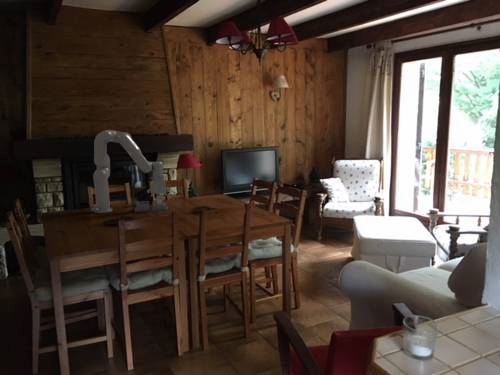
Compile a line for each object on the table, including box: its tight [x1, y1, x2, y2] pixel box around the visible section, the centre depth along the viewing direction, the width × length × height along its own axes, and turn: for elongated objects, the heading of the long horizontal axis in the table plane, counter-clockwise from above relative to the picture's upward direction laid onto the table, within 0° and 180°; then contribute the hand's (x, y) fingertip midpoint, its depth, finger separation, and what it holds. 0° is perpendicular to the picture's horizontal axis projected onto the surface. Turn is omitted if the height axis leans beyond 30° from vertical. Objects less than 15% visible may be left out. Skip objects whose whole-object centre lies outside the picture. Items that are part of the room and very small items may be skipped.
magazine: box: [134, 185, 153, 206], centre depth 336 cm, size 4×13×15 cm, turn 125°
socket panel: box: [134, 201, 169, 213], centre depth 319 cm, size 24×11×6 cm, turn 103°
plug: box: [155, 195, 163, 205], centre depth 320 cm, size 4×4×9 cm
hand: (159, 201), depth 320 cm, fingers open, 9 cm apart
